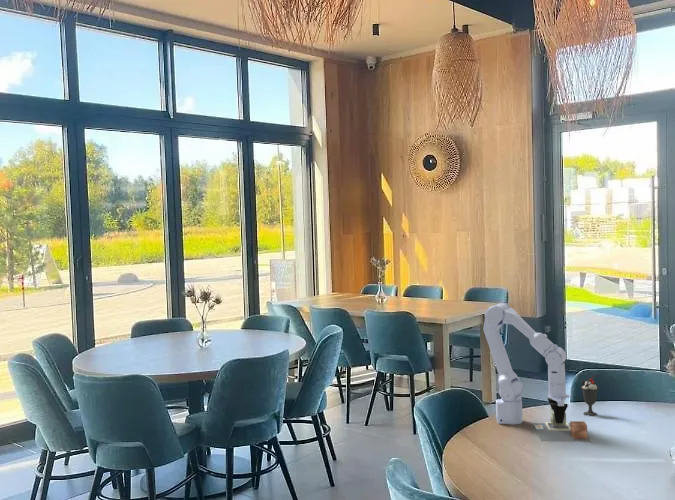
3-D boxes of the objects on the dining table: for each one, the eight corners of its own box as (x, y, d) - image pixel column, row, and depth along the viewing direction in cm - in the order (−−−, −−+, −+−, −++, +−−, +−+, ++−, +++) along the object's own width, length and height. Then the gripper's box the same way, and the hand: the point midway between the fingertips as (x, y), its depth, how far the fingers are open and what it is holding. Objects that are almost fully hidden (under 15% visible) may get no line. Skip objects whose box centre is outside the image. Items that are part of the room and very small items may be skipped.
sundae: (601, 416, 244) (600, 376, 243) (582, 416, 245) (581, 376, 244) (598, 411, 250) (597, 372, 250) (579, 411, 251) (578, 372, 251)
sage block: (552, 425, 229) (552, 413, 229) (550, 422, 234) (550, 409, 233) (566, 426, 228) (565, 413, 228) (563, 422, 233) (563, 409, 233)
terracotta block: (573, 438, 219) (572, 425, 218) (570, 434, 223) (570, 421, 223) (587, 438, 218) (587, 425, 218) (584, 434, 222) (584, 421, 222)
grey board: (541, 443, 218) (541, 439, 218) (532, 425, 237) (532, 421, 237) (591, 444, 215) (591, 439, 215) (579, 425, 235) (578, 421, 235)
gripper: (572, 387, 223) (574, 427, 223) (564, 377, 237) (565, 414, 238) (551, 387, 224) (552, 427, 224) (544, 377, 238) (545, 414, 239)
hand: (558, 420), depth 231 cm, fingers open, 5 cm apart
